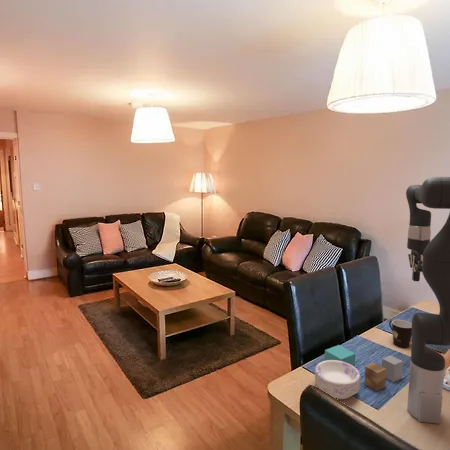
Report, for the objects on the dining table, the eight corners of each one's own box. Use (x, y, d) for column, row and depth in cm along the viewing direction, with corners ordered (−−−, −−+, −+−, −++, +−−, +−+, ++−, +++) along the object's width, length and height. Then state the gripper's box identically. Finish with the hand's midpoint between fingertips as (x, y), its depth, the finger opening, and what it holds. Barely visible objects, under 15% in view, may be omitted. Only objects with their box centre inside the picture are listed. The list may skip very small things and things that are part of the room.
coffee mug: (414, 350, 148) (416, 328, 146) (393, 348, 149) (394, 327, 148) (406, 337, 159) (407, 317, 158) (386, 336, 161) (387, 316, 159)
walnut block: (385, 386, 122) (386, 368, 121) (376, 391, 120) (377, 373, 119) (373, 379, 127) (374, 362, 126) (364, 384, 124) (365, 366, 123)
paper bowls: (306, 384, 125) (306, 364, 123) (339, 375, 130) (340, 355, 129) (333, 410, 111) (333, 387, 109) (369, 399, 116) (370, 377, 115)
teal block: (354, 372, 131) (355, 353, 130) (340, 379, 127) (341, 359, 126) (338, 363, 138) (339, 344, 137) (324, 368, 134) (324, 350, 133)
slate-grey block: (401, 378, 128) (402, 361, 127) (393, 382, 125) (394, 364, 124) (389, 371, 132) (390, 355, 131) (381, 375, 129) (382, 358, 128)
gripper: (402, 234, 137) (399, 275, 139) (414, 240, 124) (411, 285, 126) (422, 234, 135) (419, 276, 138) (437, 240, 122) (433, 286, 125)
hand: (415, 280), depth 132 cm, fingers closed
